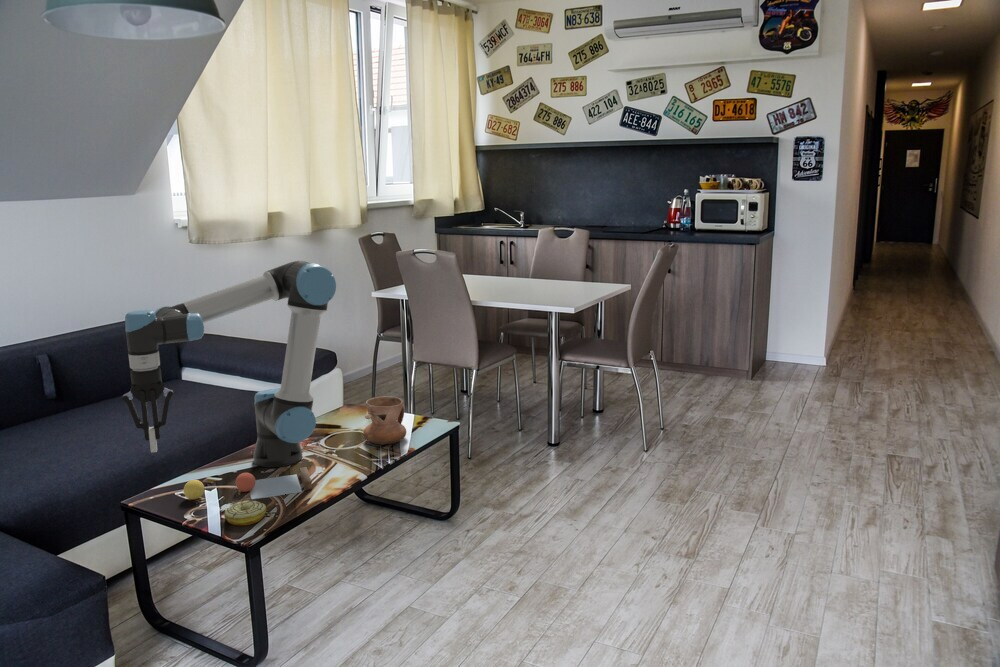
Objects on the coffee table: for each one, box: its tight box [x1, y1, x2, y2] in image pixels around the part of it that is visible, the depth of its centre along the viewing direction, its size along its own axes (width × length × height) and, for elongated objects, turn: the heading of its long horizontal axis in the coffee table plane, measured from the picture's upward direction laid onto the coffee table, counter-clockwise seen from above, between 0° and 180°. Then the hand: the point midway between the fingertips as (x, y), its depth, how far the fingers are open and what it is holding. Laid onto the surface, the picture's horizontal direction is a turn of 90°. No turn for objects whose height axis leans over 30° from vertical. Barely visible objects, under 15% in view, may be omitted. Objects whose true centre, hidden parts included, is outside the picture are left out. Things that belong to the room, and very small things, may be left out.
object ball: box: [235, 472, 256, 493], centre depth 228 cm, size 6×6×6 cm
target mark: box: [249, 473, 303, 501], centre depth 232 cm, size 14×14×1 cm
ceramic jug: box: [363, 395, 407, 445], centre depth 268 cm, size 18×14×14 cm
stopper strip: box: [299, 466, 313, 491], centre depth 234 cm, size 2×12×2 cm, turn 20°
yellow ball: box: [183, 479, 205, 500], centre depth 224 cm, size 6×6×6 cm
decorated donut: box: [224, 500, 267, 527], centre depth 211 cm, size 10×11×4 cm
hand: (154, 450), depth 218 cm, fingers closed
